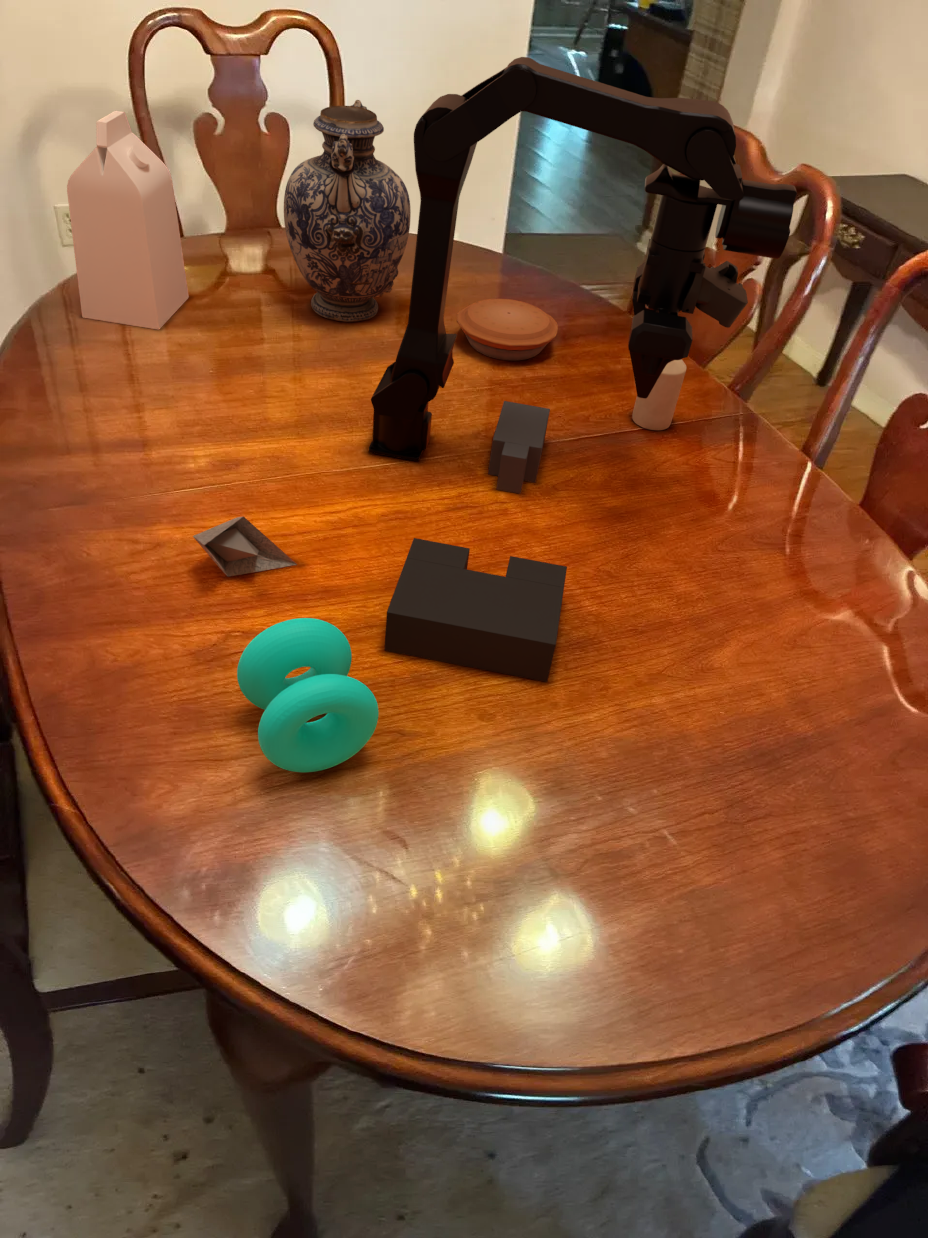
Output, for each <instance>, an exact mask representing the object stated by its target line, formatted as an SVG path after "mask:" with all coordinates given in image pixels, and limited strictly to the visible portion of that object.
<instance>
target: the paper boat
mask: <svg viewBox="0 0 928 1238" xmlns="http://www.w3.org/2000/svg"><path fill="white" fill-rule="evenodd" d="M192 537H193V538H194V540H195V541H196V542H197V543H198V544H199V546H200V547H201V548H202V549H203V550H204V551H205V553H206V554H207V555H208V556H209V557H210V559H211V560H212V562H214V563H215V564H216V565H217V567H218V568H219V570H221V571H222V573H224V575H225V576H226V577H227V578H229V577H234V576H241V575H247V574H251V573H258V572H264V571H268V570H269V571H270V570H274V569H282V568H286V567H292V566H297V565H298V564H297V562H295V561H294V560H293V559H292V558H291V557H290V556H289V555H287V554H286V553H285V552H284V551H283V550H282V549H281V548H280V547H279V546H278V545H276V544H275V543H274V542H273V541H272V540H271V539H270V538H268V536H266V535H265V534H264V533H263V532H262V531H261V530H259V528H257V527H256V526H255V525H254V524H253V523H251V521H250V520H249V519H247V518H246V517H245V516H237V517H235V518H232V519H230V520H227V521H225V522H223V523H221V524H218V525H215V526H213V527H210V528H208V529H206V530H204V531H201V532H199V533H197V534H194V535H192Z"/></svg>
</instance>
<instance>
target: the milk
mask: <svg viewBox="0 0 928 1238" xmlns="http://www.w3.org/2000/svg"><path fill="white" fill-rule="evenodd" d="M95 124H96V125H95V126H96V129H95V130H96V132H95V133H96V137H95V138H96V147H95V148H94V149H93V150H92V151H91V152H90V153H89V154H88V155H87V156H86V157H85V159H84V160H83V161H82V162H81V163H80V164H79V165H78V167H76V169H74V171H73V172H72V174H71V175H70V177H69V178H68V180H67V184H66V188H67V189H66V192H67V193H66V194H67V201H68V211H69V219H70V226H71V235H72V244H73V253H74V258H75V260H74V261H75V268H76V276H77V277H76V278H77V286H78V293H79V294H78V295H79V301H80V302H79V303H80V310H81V311H80V312H81V317H82V318H84V319H89V320H96V321H101V322H107V323H108V322H109V323H115V324H121V325H128V326H134V327H140V328H144V329H145V328H146V329H152V330H158V331H159V330H160V329H161V328H163V327H164V325H165V324H167V322H168V321H169V320H170V319H171V318H172V316H174V314H175V313H176V312H177V311H178V310H179V309H180V308H181V306H183V305H184V304H185V302H187V300H188V299H189V298H190V296H189V289H188V282H187V275H186V268H185V267H186V266H185V260H184V254H183V246H182V239H181V232H180V225H179V217H178V212H177V204H176V198H175V197H176V196H175V190H174V183H173V178H172V174H171V172H170V170H169V168H168V167H167V165H166V164H165V163H164V162H163V160H162V159H161V158H159V156H157V154H155V153H154V151H152V150H151V149H150V148H149V147H148V146H147V145H146V144H145V143H144V142H143V141H142V140H141V139H140V138H139V137H138V136H137V135H136V134H135V133H134V132H133V130H132V128H131V125H130V122H129V119H128V117H127V114H126V112H125V111H120V110H113V111H112V112H110V113H109V114H106V115H105V116H103V117H102V118H99V119H97V120H96V121H95Z"/></svg>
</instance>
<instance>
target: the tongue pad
mask: <svg viewBox="0 0 928 1238" xmlns="http://www.w3.org/2000/svg"><path fill="white" fill-rule="evenodd" d="M550 411H551V408H547V407H541V406H536V405H530V404H525V403H519V402H513V401H507V400H503V403H502V406H501V410H500V414H499V417H498V420H497V424H496V427H495V430H494V434H493V437H492V442H491V450H490V457H489V463H488V464H489V465H488V471H487V475H491V476H496V477H497V482H496V490H497V491H503V492H508V493H513V494H519V495H521V494H522V489H523V485H524V482H529V483H534V484H535V483H537V478H538V473H539V468H540V463H541V459H542V453H543V451H544V450H543V449H544V445H545V444H544V443H545V439H546V434H547V428H548V423H549V418H550Z"/></svg>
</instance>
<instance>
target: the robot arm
mask: <svg viewBox="0 0 928 1238" xmlns="http://www.w3.org/2000/svg"><path fill="white" fill-rule="evenodd" d="M521 112H525V113H529V114H533V115H536V116H539V117H542V118H546V119H549V120H552V121H555V122H558V123H562V124H564V125H569V126H572V127H575V128H577V129H578V128H579V129H580V130H581V129H582V130H585V131H588V132H592V133H595V134H597V135H601V136H604V137H607V138H611V139H615V140H617V141H621V142H624V143H626V144H627V143H628V144H631V145H632V146H633V145H634V146H635V147H637V148H639V149H641V150H643V151H644V152H646V153H648V155H650V156H651V157H653V158H654V159H656V160H657V161H659V162H660V163H661V164H662V165H661V166H660V167H659V168H658V169H657V170H656V171H654V172H652V173H651V174H648V175H646V177H645V180H644V191H645V193H646V194H651V195H652V194H653V195H659V196H660V198H659V201H658V207H657V211H656V213H655V219H654V224H653V228H652V232H651V236H650V238H648V244H647V246H646V257H645V260H644V262H643V263H641V264H640V265H639V266H637V267H636V272H635V276H634V280H633V285H632V297H631V300H632V309H633V316H632V321H631V324H630V329H629V335H628V343H627V348H628V349H627V350H628V351H629V357H630V362H631V367H632V368H631V369H632V372H633V373H632V374H633V379H634V385H635V390H636V397H637V396H638V397H639V398H645V399H646V398H648V396H649V394H650V392H651V391H652V389H653V387H654V385H655V384H656V382H657V380H658V378H659V376H660V375H661V373H662V371H663V370H664V368H665V366H666V365H667V364H668V363H669V362H671V361H674V360H681V359H682V360H683V359H686V358H688V357H689V354H690V351H691V347H692V343H693V326H692V325H691V323H690V322H689V320H688V318H687V317H686V316H681V315H679V313H680V312H682V313H686V314H690V315H694V313H695V309H697V310H699V311H700V312H702V313H704V314H705V315H707V316H709V317H710V318H711V319H714V320H716V321H717V322H718V324H719V325H720V326H722V327H724V328H727V329H729V328H731V327H732V325H733V324H734V322H735V321H736V320H737V318H738V317H739V316H740V314H741V313H742V311H744V309H745V307H746V306H747V305H748V304H749V300H748V295H747V294H748V293H747V290H746V289H745V287H744V286H743V283H741V282H739V283H738V276H739V268H738V266H737V265H735V264H734V263H731V262H730V261H728V260H726V261H724V262H722V263H721V264H719V265H717V266H716V267H714V266H710V267H709V266H707V265H706V262H704V260H705V257H706V254H705V251H706V249H707V248H706V247H707V243H708V239H709V237H710V233H711V229H712V225H713V221H714V218H715V215H716V211H717V208H718V205H720V211H719V214H718V219H717V223H716V226H715V227H716V228H715V233H714V237H715V238H716V239H722V241H721V245H722V250H723V251H726V252H732V253H738V254H744V255H751V256H757V257H762V258H767V259H768V258H769V259H773V260H779V259H780V258H781V256H782V255H783V253H784V252H785V251H784V250H785V249H786V246H787V243H788V240H789V238H790V235H791V228H790V227H791V223H792V218H793V213H794V204H795V202H796V199H797V195H798V192H797V188H796V186H795V185H793V184H787V183H776V184H775V183H768V182H763V181H755V180H748V179H743V174H742V169H741V168H742V167H741V164H738V163H737V162H736V159H735V152H736V148H737V138H736V137H737V136H736V130H735V126H734V122H733V119H732V117H731V113H730V112H729V110H728V109H727V108H726V107H725V106H724V105H722V104H721V103H719V102H717V101H713V100H707V99H696V98H687V97H652V96H645V95H642V94H638V93H636V92H633V91H629V90H626V89H623V88H620V87H616V86H613V85H610V84H606V83H603V82H600V81H596V80H593V79H590V78H586V77H584V76H580V75H577V74H573V73H571V72H567V71H564V70H561V69H558V68H554V67H551V66H547V65H545V64H541V63H539V62H538V61H536V60H535V59H533V58H531V57H528V56H520V57H516V58H514V59H513V60H511V61H510V62H509V63H508V64H507V66H506V67H504V68H503V69H502V70H500V71H498V72H496V73H495V74H493V75H492V76H489V77H488V78H486V79H485V80H483V81H481V82H480V83H478V84H476V85H475V86H473V87H472V88H471V89H469V90H467V91H465V92H464V93H463V94H458V93H447V94H444V95H441V96H439V97H438V98H437V99H436V100H434V101H433V102H432V103H431V104H430V106H429V107H428V108H427V109H426V110H425V112H424V113H423V114H422V115H421V116H420V118H419V119H418V121H417V123H416V124H415V127H414V131H413V153H414V167H415V176H416V180H417V181H416V182H417V185H418V190H419V196H420V197H419V198H420V204H419V212H418V223H417V233H416V240H415V241H416V242H415V250H414V251H415V252H414V259H413V260H414V261H413V270H412V280H411V289H410V300H409V308H408V309H409V310H408V318H407V325H406V328H405V331H404V334H403V337H402V340H401V343H400V346H399V349H398V350H397V354H396V358H395V361H394V362H392V363H391V364H389V365H388V366H387V367H386V369H385V371H384V372H383V375H382V377H381V379H380V381H379V382H378V385H377V386H376V389H375V391H374V392H373V394H372V396H371V397H370V402H371V405H372V408H373V413H372V414H373V415H372V416H373V417H372V418H373V419H372V421H373V422H372V438H371V439H372V440H371V442H370V443H369V445H368V452H369V453H370V454H375V455H381V456H385V457H386V456H387V457H390V458H397V459H401V460H408V461H413V462H418V461H420V459H421V457H422V454H423V452H424V451H426V450H427V448H428V445H429V443H430V440H431V429H432V419H433V413H432V412H431V411H429V402H431V401H433V400H434V399H436V396H437V394H438V392H439V390H440V388H441V389H444V388H445V386H446V384H447V382H448V379H449V376H450V374H451V372H452V368H453V366H454V364H455V361H454V357H453V351H454V346H455V343H456V340H457V337H458V334H457V333H447V331H446V326H445V311H446V310H445V309H446V303H447V302H446V301H447V294H448V287H449V280H450V271H451V265H452V256H453V250H454V249H453V248H454V241H455V234H456V226H457V220H458V219H457V218H458V210H459V202H460V197H461V193H462V191H463V187H464V184H465V181H466V179H467V176H468V173H469V170H470V167H471V164H472V160H473V157H474V154H475V151H476V147H477V145H478V142H480V141H481V140H483V139H485V138H486V137H487V136H489V135H490V134H491V133H493V132H494V131H495V130H497V129H498V128H500V127H501V126H502V125H504V124H505V123H506V122H507V121H509V120H511V119H512V118H513V117H515V116H516V115H518V114H520V113H521ZM671 169H673V170H674V171H675V172H677V173H674V172H673V171H672V170H671ZM678 173H680V174H678ZM701 181H704V182H705V183H706V184H707V185H708V186H709V187H706V186H704V185H701Z"/></svg>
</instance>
